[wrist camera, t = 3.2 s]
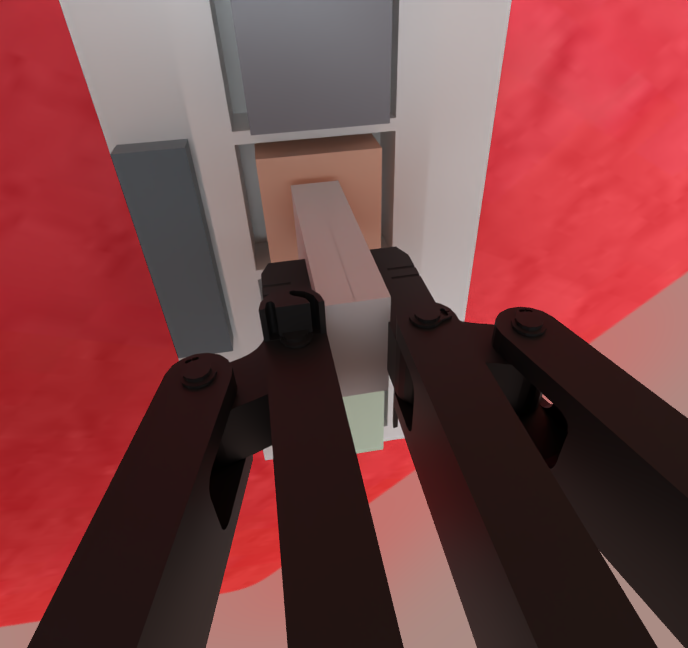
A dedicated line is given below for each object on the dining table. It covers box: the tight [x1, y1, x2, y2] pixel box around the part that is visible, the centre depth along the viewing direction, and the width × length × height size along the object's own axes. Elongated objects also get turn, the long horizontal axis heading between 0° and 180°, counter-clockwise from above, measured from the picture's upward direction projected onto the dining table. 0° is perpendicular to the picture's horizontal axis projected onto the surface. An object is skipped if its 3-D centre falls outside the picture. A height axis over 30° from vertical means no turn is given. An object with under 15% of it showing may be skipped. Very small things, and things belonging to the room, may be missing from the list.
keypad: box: [59, 0, 512, 460], centre depth 19 cm, size 14×22×3 cm, turn 2°
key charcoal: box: [230, 0, 392, 135], centre depth 13 cm, size 4×4×2 cm
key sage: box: [343, 391, 384, 454], centre depth 23 cm, size 4×4×2 cm
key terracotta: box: [254, 133, 382, 263], centre depth 17 cm, size 4×4×2 cm
